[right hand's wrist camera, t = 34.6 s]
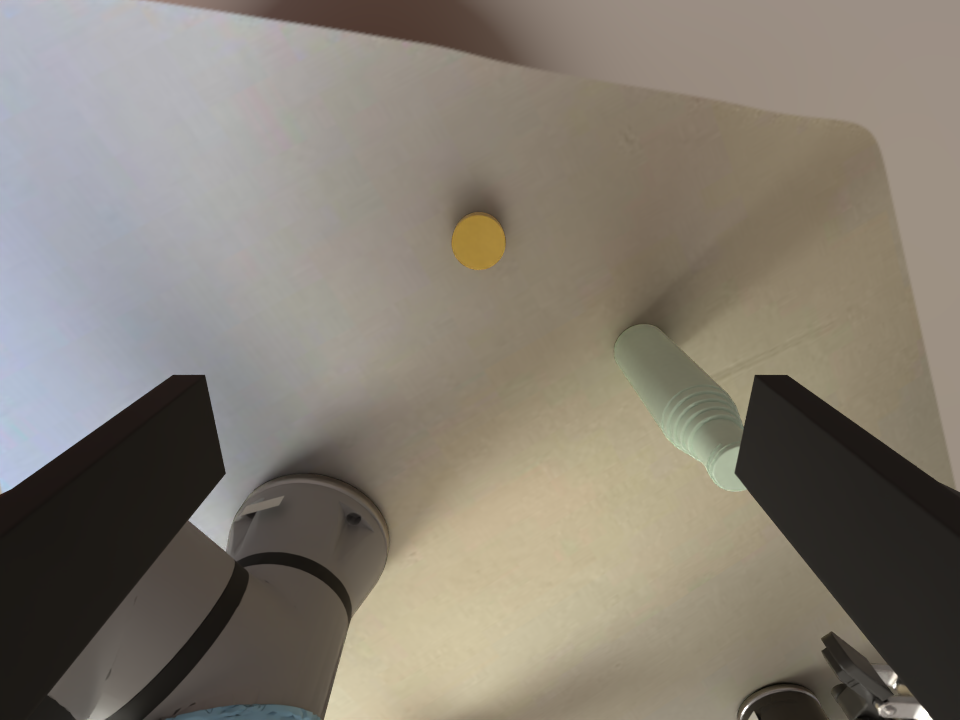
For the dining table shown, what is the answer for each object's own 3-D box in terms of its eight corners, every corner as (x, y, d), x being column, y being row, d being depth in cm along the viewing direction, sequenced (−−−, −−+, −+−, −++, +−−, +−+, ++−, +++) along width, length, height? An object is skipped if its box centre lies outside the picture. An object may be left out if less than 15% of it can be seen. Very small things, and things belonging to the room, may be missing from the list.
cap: (493, 270, 42) (494, 277, 40) (446, 253, 42) (444, 259, 40) (511, 222, 41) (513, 226, 39) (462, 204, 41) (461, 207, 38)
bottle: (604, 341, 45) (682, 457, 27) (653, 313, 44) (766, 415, 27) (628, 383, 46) (717, 518, 29) (676, 357, 45) (798, 480, 28)
